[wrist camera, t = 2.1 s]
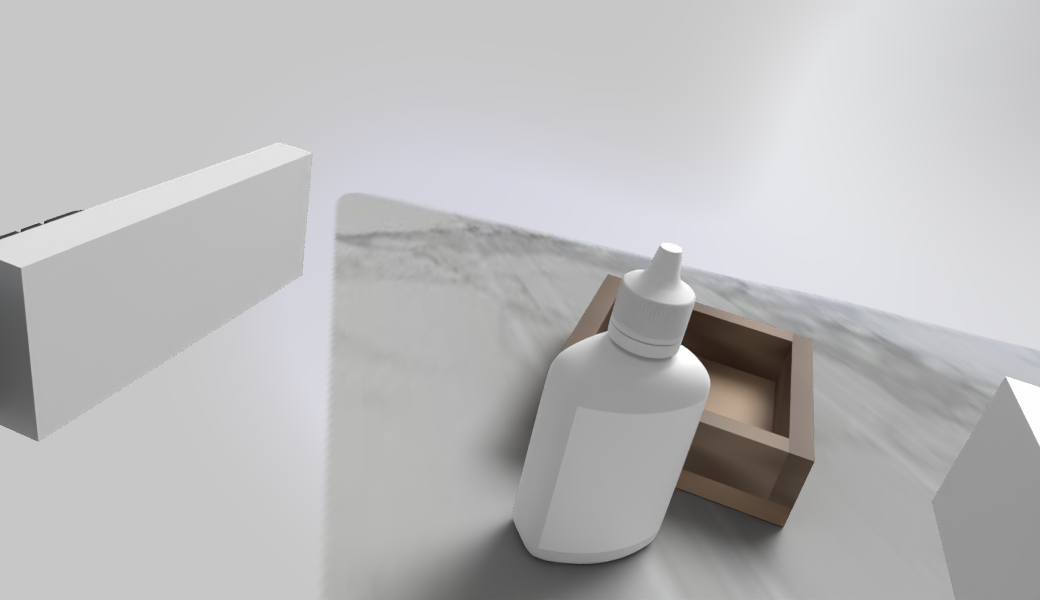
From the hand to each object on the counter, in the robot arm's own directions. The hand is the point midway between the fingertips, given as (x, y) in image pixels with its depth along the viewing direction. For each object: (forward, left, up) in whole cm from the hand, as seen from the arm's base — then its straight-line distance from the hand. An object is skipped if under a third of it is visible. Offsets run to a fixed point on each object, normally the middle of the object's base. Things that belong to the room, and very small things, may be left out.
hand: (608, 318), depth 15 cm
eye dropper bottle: (0, -10, -14) cm, 17 cm away
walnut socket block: (-2, -20, -14) cm, 25 cm away
